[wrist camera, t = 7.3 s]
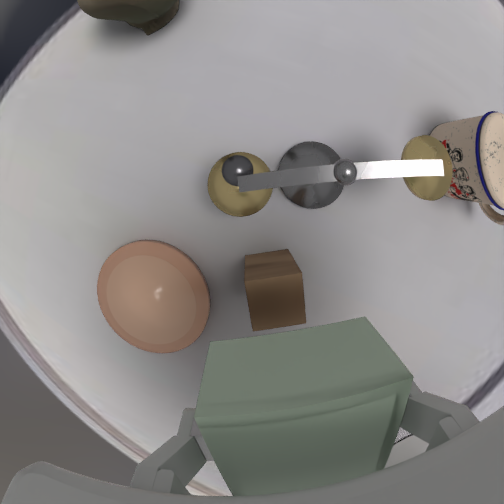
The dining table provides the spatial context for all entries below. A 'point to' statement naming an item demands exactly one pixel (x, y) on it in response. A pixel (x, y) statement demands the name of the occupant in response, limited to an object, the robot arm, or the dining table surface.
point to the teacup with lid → (476, 160)
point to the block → (274, 290)
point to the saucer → (153, 296)
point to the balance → (323, 175)
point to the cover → (301, 406)
